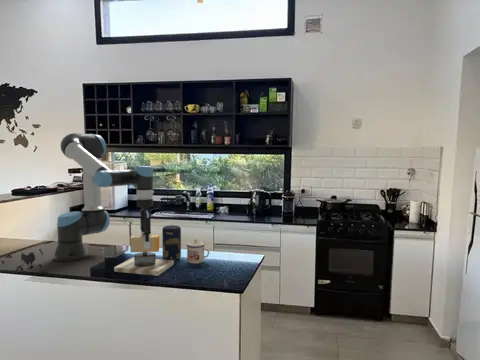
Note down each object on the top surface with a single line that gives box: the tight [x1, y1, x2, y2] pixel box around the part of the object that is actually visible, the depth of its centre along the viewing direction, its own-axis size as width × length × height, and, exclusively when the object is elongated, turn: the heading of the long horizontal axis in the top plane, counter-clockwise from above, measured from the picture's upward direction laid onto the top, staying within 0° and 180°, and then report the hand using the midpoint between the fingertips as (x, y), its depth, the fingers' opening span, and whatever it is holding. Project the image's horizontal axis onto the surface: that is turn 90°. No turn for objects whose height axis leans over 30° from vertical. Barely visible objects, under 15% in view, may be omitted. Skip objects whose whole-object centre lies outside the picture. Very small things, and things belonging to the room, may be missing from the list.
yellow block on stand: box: [129, 234, 160, 266], centre depth 182 cm, size 13×10×13 cm
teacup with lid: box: [186, 238, 210, 264], centre depth 194 cm, size 12×9×12 cm
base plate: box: [113, 256, 175, 277], centre depth 182 cm, size 22×18×2 cm
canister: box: [162, 224, 182, 261], centre depth 198 cm, size 10×10×18 cm
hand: (145, 246), depth 182 cm, fingers closed on yellow block on stand, 5 cm apart
